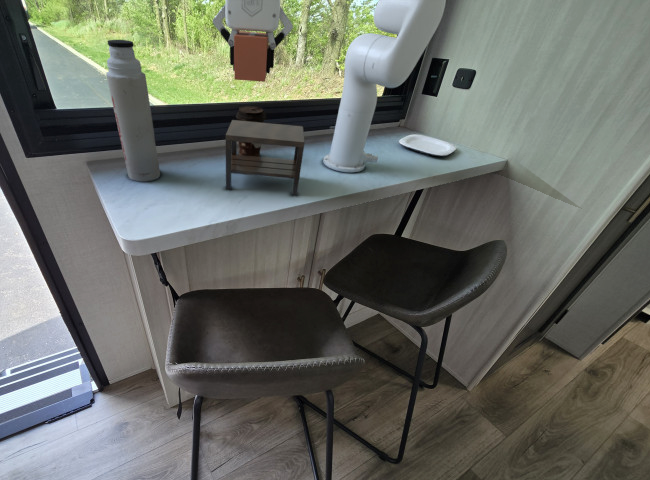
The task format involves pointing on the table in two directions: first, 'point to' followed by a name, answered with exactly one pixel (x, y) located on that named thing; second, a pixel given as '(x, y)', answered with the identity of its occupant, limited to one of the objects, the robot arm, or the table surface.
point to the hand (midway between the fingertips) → (251, 70)
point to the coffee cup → (252, 116)
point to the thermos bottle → (132, 111)
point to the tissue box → (250, 56)
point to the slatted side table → (264, 165)
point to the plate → (427, 145)
